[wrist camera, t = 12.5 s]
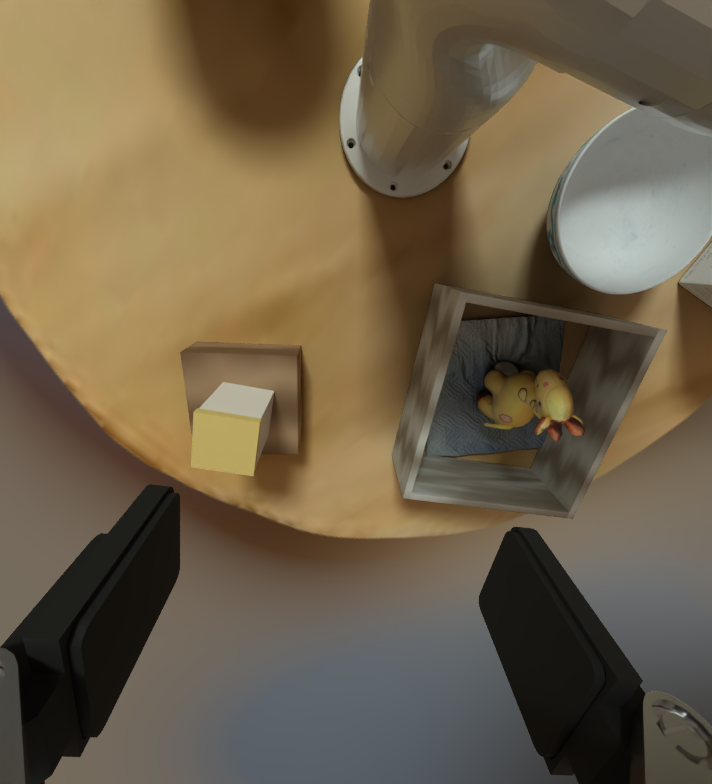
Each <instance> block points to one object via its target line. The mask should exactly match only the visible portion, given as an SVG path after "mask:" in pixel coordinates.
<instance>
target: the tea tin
mask: <svg viewBox="0 0 712 784" xmlns="http://www.w3.org/2000/svg"><path fill="white" fill-rule="evenodd" d="M273 398H274V391H272V390H267V389H261V388H255V387H249V386H243V385H238V384H232V383H226V382H223V383H222V384H221V385H220V386H219V387H218V388H217V389H216V390H215V391H214V393H213V394H212V395H211V396H210V397H209V398H208V399H207V400H206V401H205V402H204V403H203V405H202V406H201V407H200V408H197V409H196V410H195V411H194V413H193V436H192V458H191V467H193V468H200V469H207V470H214V471H221V472H228V473H234V474H241V475H248V476H254V474H255V471H256V465H257V463H258V460H259V458H260V455H261V453H262V450H263V448H264V445H265V443H266V440H267V438H268V435H269V429H270V421H271V413H272V406H273Z"/></svg>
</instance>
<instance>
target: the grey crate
mask: <svg viewBox="0 0 712 784" xmlns="http://www.w3.org/2000/svg"><path fill="white" fill-rule="evenodd" d="M466 302H467V303H472V304H478V305H483V306H488V307H494V308H499V309H505V310H510V311H515V312H521V313H526V314H532V315H537V316H543V317H548V318H553V319H559V320H564V321H570V322H575V323H580V324H586V325H590V328H589V330H588V333H587V335H586V337H585V340H584V342H583V345H582V347H581V349H580V352H579V354H578V356H577V359H576V361H575V364H574V366H573V368H572V371H571V373H570V376H569V378H568V380H567V385H568V387H569V389H570V392H571V394H572V396H573V401H574V403H573V406H574V409H573V415H576V416H577V417H579V418H580V419H581V420H582V421H583V424H584V427H585V433H584V435H582V436H579V437H577V436H574V435H572V434H571V433H570V432H569V431H568V430H567V428H566V427H565V425H562V433H563V434H562V436H561V438H560V440H559V441H554V440H553V439H551V437H550V436H549V435H548V433H547V437H546V440H545V441H544V443H543V446H542V448H539V449H538V452H537V454H536V457H535V459H534V461H533V464H532V466H531V469H530V468H523V467H515V466H508V465H500V464H493V463H486V462H478V461H471V460H463V459H456V458H448V457H441V456H427V455H426V454H423V451H424V448H425V444H426V441H427V437H428V434H429V430H430V427H431V423H432V420H433V416H434V413H435V409H436V406H437V402H438V399H439V395H440V392H441V388H442V385H443V381H444V378H445V374H446V371H447V367H448V364H449V360H450V357H451V353H452V350H453V346H454V343H455V339H456V336H457V332H458V329H459V325H460V322H461V318H462V315H463V311H464V308H465V304H466ZM666 331H667V330H663V329H659V328H655V327H650V326H646V325H642V324H638V323H634V322H630V321H626V320H622V319H617V318H613V317H609V316H605V315H601V314H595V313H590V312H585V311H580V310H574V309H569V308H564V307H558V306H553V305H548V304H542V303H537V302H532V301H527V300H521V299H516V298H511V297H505V296H500V295H495V294H489V293H484V292H479V291H474V290H468V289H463V288H458V287H452V286H447V285H442V284H436V283H435V284H434V288H433V292H432V296H431V300H430V304H429V308H428V312H427V316H426V320H425V324H424V328H423V332H422V336H421V340H420V344H419V348H418V352H417V356H416V360H415V364H414V368H413V372H412V376H411V380H410V384H409V388H408V392H407V396H406V400H405V404H404V408H403V412H402V416H401V420H400V424H399V428H398V432H397V436H396V440H395V444H394V448H393V452H392V458H393V462H394V466H395V469H396V473H397V477H398V481H399V485H400V489H401V493H402V497H403V498H405V499H413V500H421V501H430V502H438V503H446V504H454V505H463V506H471V507H479V508H488V509H496V510H504V511H512V512H521V513H529V514H537V515H546V516H554V517H563V518H571V519H573V517H574V515H575V513H576V511H577V509H578V507H579V505H580V503H581V501H582V499H583V497H584V495H585V493H586V491H587V489H588V487H589V485H590V483H591V481H592V479H593V477H594V475H595V473H596V471H597V469H598V467H599V465H600V463H601V461H602V459H603V457H604V455H605V453H606V451H607V449H608V447H609V445H610V443H611V441H612V439H613V437H614V435H615V433H616V431H617V429H618V427H619V425H620V423H621V421H622V419H623V417H624V415H625V413H626V411H627V409H628V407H629V405H630V403H631V401H632V399H633V397H634V395H635V393H636V391H637V389H638V387H639V385H640V383H641V381H642V379H643V377H644V375H645V373H646V371H647V369H648V367H649V365H650V363H651V361H652V359H653V357H654V355H655V353H656V351H657V349H658V347H659V345H660V343H661V341H662V339H663V337H664V335H665V333H666Z"/></svg>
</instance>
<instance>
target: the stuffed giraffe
mask: <svg viewBox="0 0 712 784" xmlns="http://www.w3.org/2000/svg"><path fill="white" fill-rule="evenodd" d="M564 325H565V321H564V320H559V319H553V318H548V317H543V316H537V315H535V316H529V317H511V318H500V319H483V320H470V321H461V322H460V325H459V329H458V332H457V336H456V339H455V343H454V346H453V350H452V353H451V357H450V360H449V364H448V367H447V371H446V374H445V378H444V381H443V385H442V388H441V392H440V395H439V399H438V402H437V406H436V409H435V413H434V416H433V420H432V423H431V427H430V430H429V434H428V437H427V456H463V455H469V454H487V453H495V452H506V451H513V450H516V449H531V448H542V446H543V443H544V441H545V440H546V437H547V433H548V435H549V436H550V437H551V439H553V440H554V441H559V440H560V438H561V436H562V434H563V433H562V425H565V427H566V428H567V430H568V431H569V432H570V433H571V434H572V435H574V436H577V437H579V436H582V435H584V433H585V427H584V424H583V421H582V420H581V419H580V418H579V417H577V416H576V415H573V409H574V406H573V403H574V401H573V396H572V394H571V392H570V389H569V387H568V385H567V383H566V381H565V379H564V378H563V377H562V375H561V374H559V365H560V361H561V352H562V345H563V334H564Z"/></svg>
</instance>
